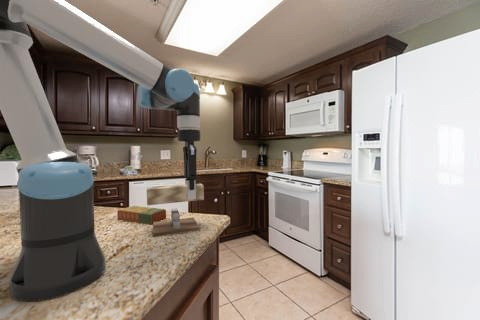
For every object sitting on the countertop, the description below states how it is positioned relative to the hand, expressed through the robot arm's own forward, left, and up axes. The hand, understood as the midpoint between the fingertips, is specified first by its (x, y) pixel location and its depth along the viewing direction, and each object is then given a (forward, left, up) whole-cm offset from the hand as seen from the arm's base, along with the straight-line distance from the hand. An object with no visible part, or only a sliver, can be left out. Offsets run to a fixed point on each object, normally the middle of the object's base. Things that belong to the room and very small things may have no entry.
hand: (190, 197), depth 78 cm
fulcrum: (0, +5, -10) cm, 11 cm away
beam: (0, +5, -1) cm, 5 cm away
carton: (+14, +16, -10) cm, 24 cm away
